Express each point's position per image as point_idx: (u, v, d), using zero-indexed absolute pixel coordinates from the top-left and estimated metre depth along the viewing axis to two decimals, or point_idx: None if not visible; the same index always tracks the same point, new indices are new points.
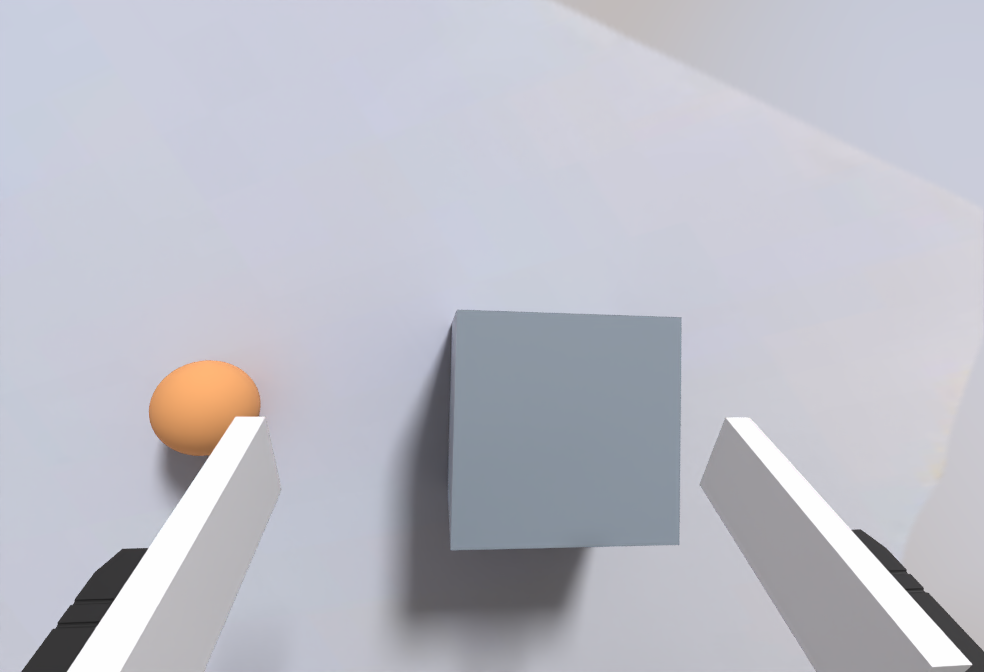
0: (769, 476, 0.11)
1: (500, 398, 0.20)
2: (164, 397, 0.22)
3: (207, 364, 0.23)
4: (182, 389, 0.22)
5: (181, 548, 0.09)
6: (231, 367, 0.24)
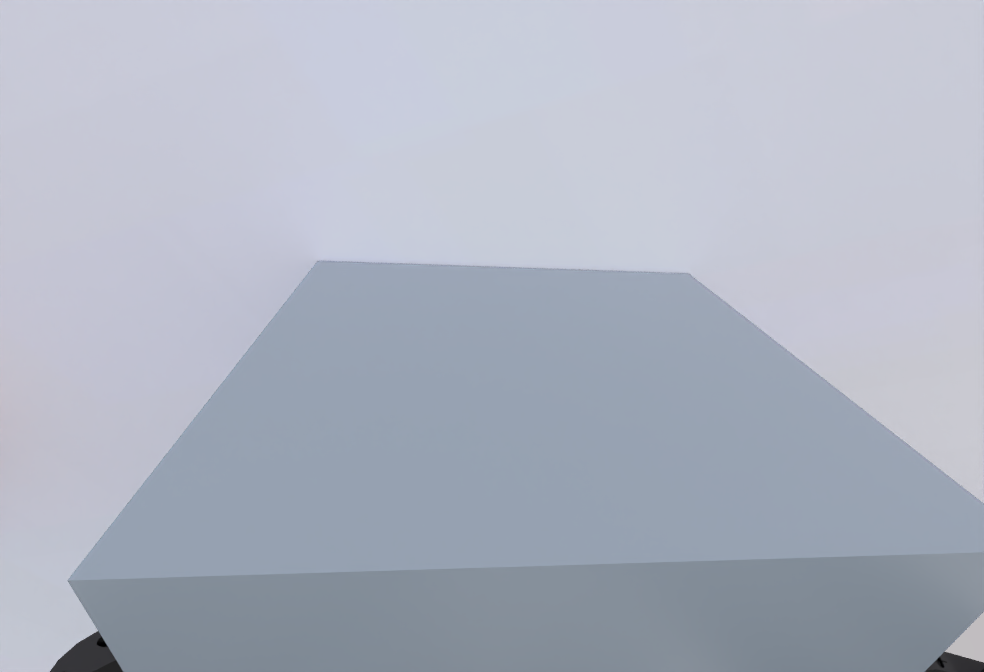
0: None
1: None
2: None
3: None
4: None
5: None
6: None
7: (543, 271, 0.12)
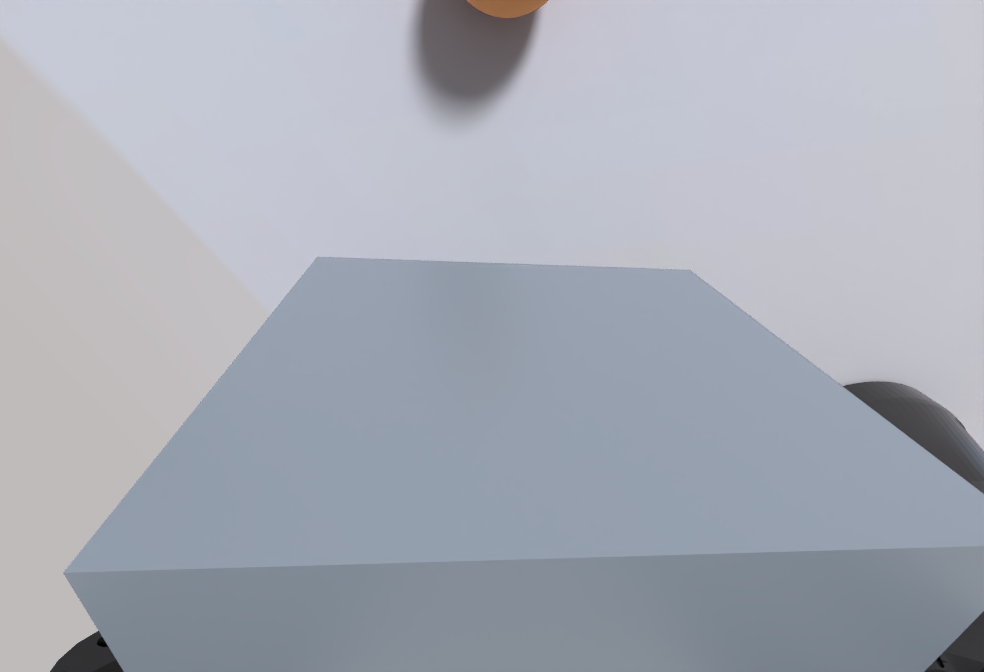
0: None
1: None
2: None
3: None
4: None
5: None
6: None
7: (544, 268, 0.12)
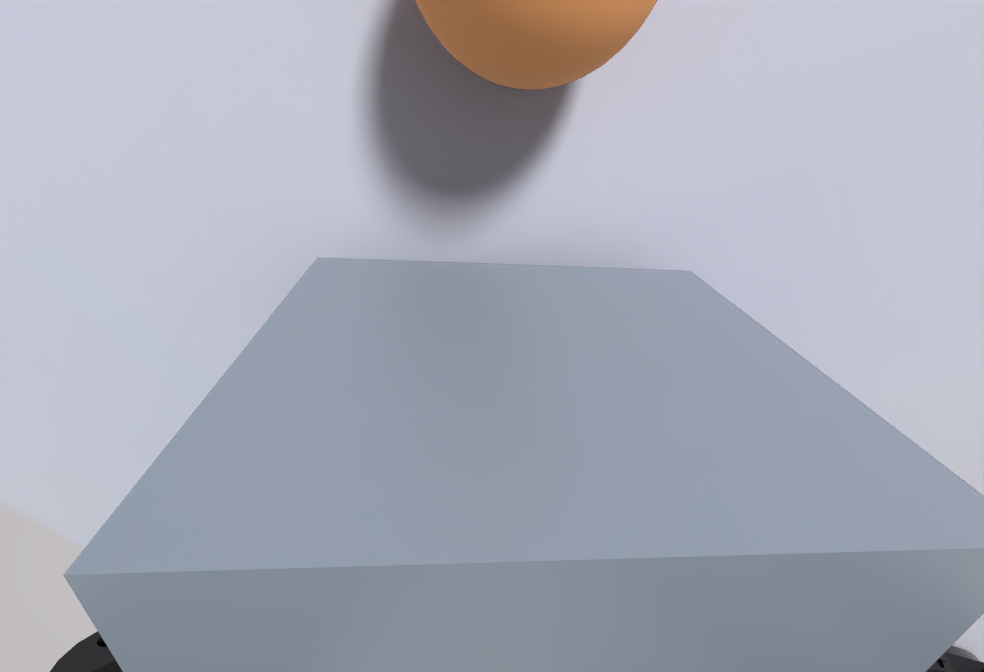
0: None
1: None
2: None
3: (549, 80, 0.09)
4: None
5: None
6: (605, 53, 0.08)
7: (544, 268, 0.12)
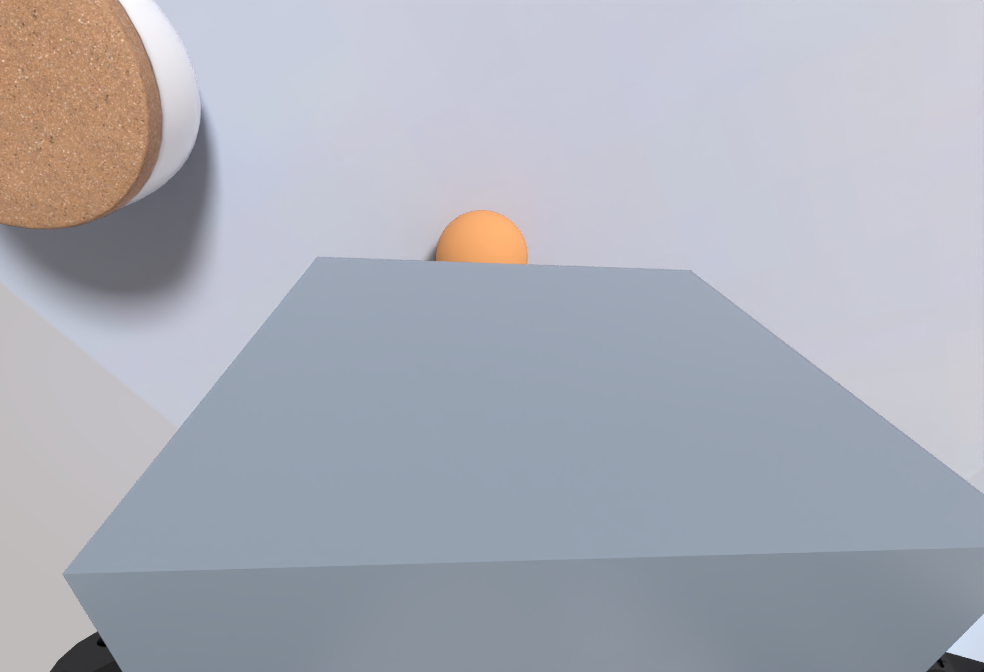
0: None
1: None
2: None
3: None
4: None
5: None
6: None
7: (544, 268, 0.12)
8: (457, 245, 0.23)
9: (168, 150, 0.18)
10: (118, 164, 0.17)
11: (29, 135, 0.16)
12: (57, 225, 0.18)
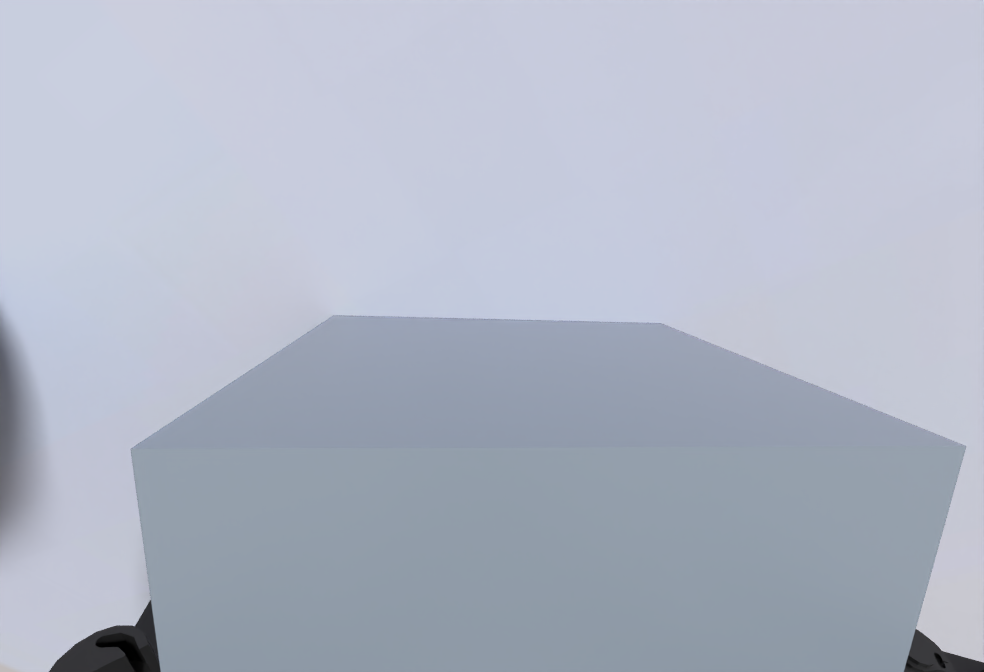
0: None
1: None
2: None
3: None
4: None
5: None
6: None
7: (531, 321, 0.14)
8: None
9: None
10: None
11: None
12: None
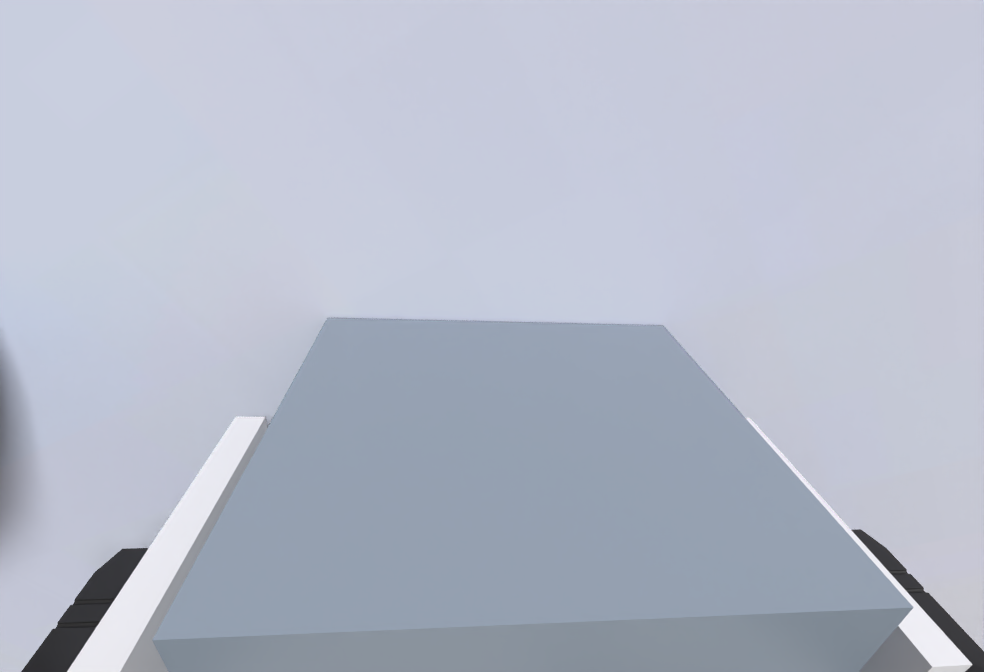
0: None
1: None
2: None
3: None
4: None
5: (181, 548, 0.09)
6: None
7: (530, 326, 0.14)
8: None
9: None
10: None
11: None
12: None
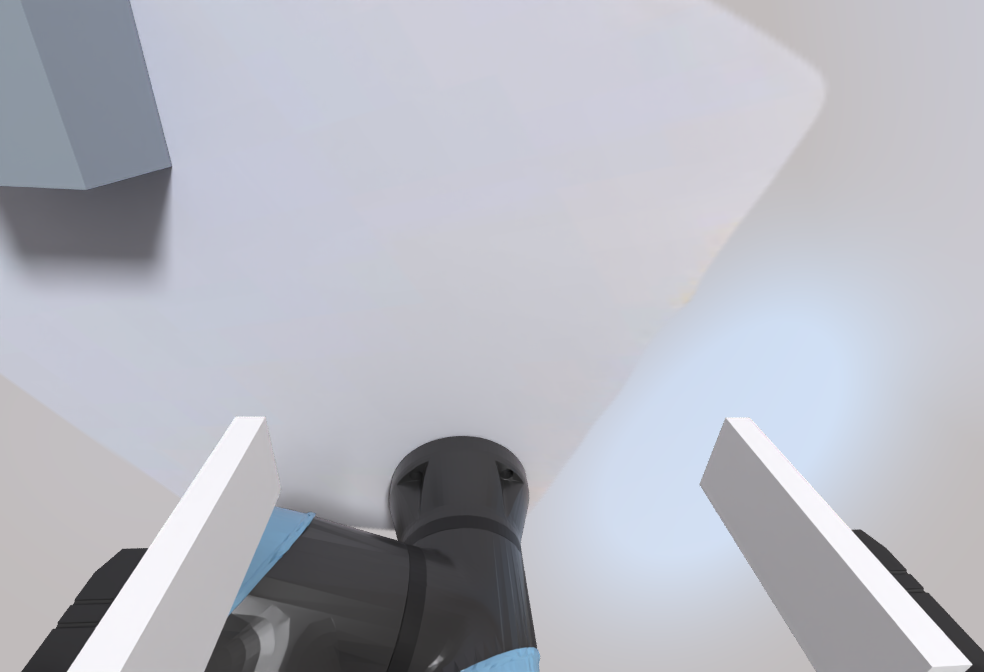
0: (769, 476, 0.11)
1: None
2: None
3: None
4: None
5: (181, 548, 0.09)
6: None
7: None
8: None
9: None
10: None
11: None
12: None
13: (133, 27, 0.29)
